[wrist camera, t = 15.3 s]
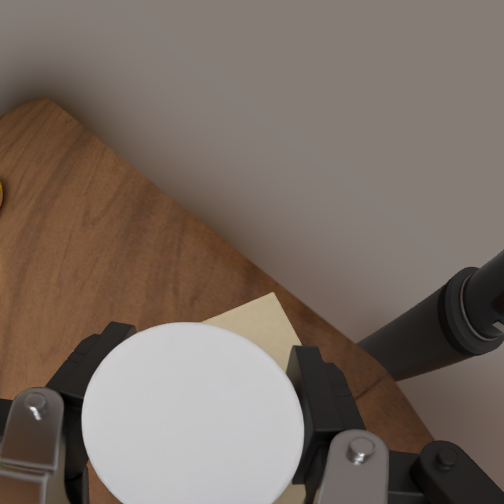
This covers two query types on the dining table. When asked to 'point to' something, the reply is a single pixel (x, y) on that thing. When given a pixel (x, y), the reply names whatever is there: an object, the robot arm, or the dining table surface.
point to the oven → (265, 348)
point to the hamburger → (1, 194)
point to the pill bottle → (192, 419)
